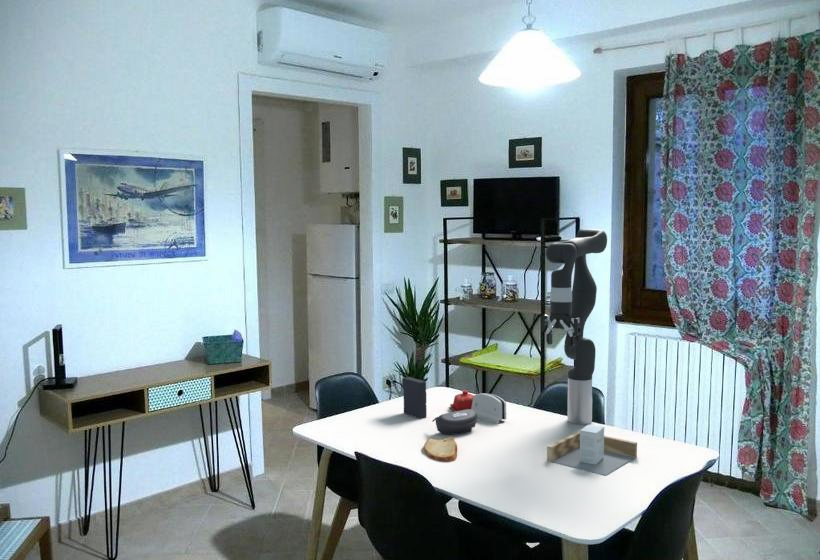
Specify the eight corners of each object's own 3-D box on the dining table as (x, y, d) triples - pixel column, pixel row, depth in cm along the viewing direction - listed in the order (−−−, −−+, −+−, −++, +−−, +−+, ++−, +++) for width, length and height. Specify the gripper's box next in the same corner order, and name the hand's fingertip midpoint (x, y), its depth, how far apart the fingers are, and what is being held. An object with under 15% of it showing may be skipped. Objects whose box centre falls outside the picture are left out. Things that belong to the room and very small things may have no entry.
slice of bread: (448, 466, 222) (448, 454, 221) (406, 454, 234) (406, 443, 233) (480, 451, 235) (480, 441, 235) (439, 441, 247) (439, 431, 247)
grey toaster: (468, 415, 279) (470, 390, 279) (476, 414, 282) (478, 390, 282) (498, 424, 266) (500, 398, 266) (506, 423, 269) (508, 397, 269)
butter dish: (481, 413, 282) (481, 393, 282) (454, 414, 281) (454, 394, 280) (475, 406, 294) (475, 386, 293) (449, 407, 292) (449, 387, 292)
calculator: (427, 417, 275) (427, 381, 274) (419, 419, 273) (419, 382, 272) (410, 412, 284) (410, 376, 283) (402, 414, 281) (402, 377, 280)
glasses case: (445, 440, 247) (445, 418, 247) (428, 432, 256) (428, 412, 255) (483, 431, 257) (483, 410, 257) (465, 424, 266) (465, 404, 266)
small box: (587, 455, 229) (587, 423, 228) (604, 458, 226) (604, 426, 225) (579, 462, 222) (579, 430, 221) (596, 465, 219) (596, 432, 218)
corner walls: (580, 444, 241) (580, 430, 240) (636, 457, 227) (637, 442, 227) (546, 461, 224) (547, 446, 224) (605, 476, 210) (606, 460, 210)
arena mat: (582, 446, 239) (582, 445, 239) (634, 458, 226) (634, 457, 226) (551, 462, 223) (551, 461, 223) (605, 476, 210) (605, 475, 210)
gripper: (537, 299, 244) (537, 344, 245) (574, 302, 234) (573, 349, 236) (548, 297, 250) (548, 342, 251) (584, 300, 240) (584, 346, 241)
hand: (560, 345), depth 243 cm, fingers open, 8 cm apart
